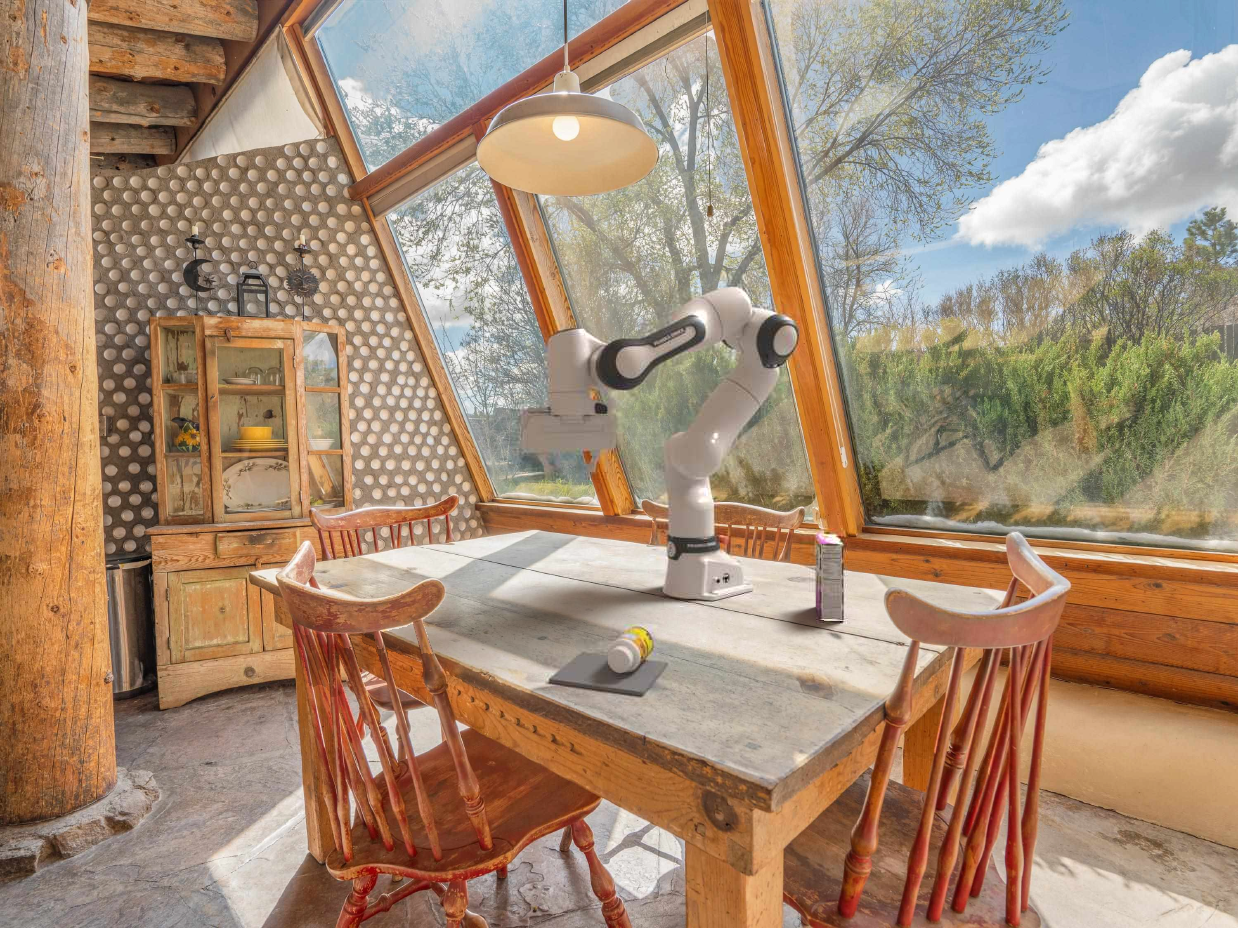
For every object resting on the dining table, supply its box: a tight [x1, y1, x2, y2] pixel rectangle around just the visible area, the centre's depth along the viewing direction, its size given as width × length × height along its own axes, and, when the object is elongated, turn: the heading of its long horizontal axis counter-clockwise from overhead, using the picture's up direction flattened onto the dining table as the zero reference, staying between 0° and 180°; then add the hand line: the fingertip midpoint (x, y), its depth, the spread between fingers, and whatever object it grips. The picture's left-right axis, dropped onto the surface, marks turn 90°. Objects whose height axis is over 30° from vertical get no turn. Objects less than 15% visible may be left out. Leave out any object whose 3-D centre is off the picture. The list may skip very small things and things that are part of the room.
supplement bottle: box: [607, 625, 655, 673], centre depth 109 cm, size 6×6×10 cm
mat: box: [548, 651, 669, 697], centre depth 107 cm, size 13×16×1 cm
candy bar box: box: [814, 533, 845, 621], centre depth 138 cm, size 11×5×16 cm, turn 168°
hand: (570, 473), depth 136 cm, fingers open, 8 cm apart
